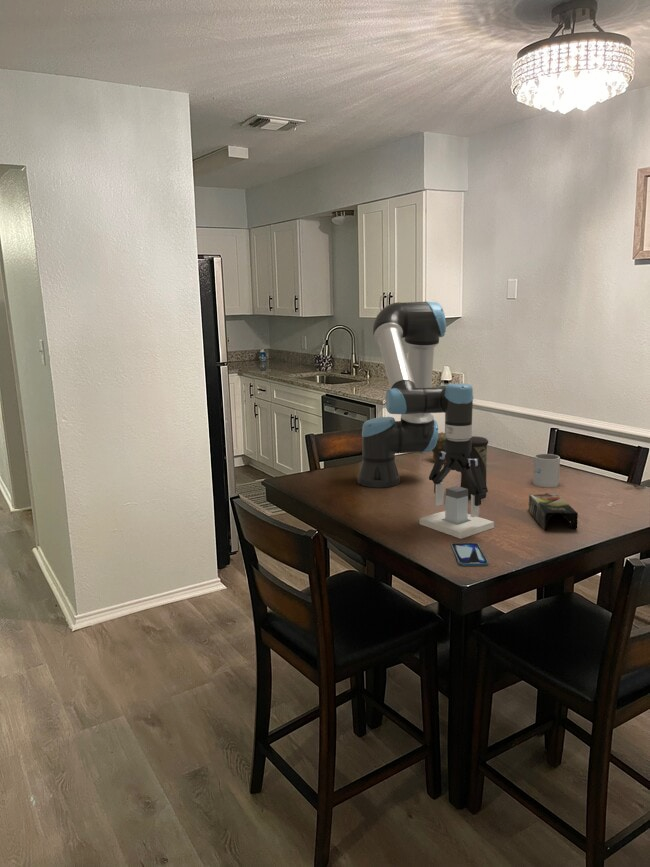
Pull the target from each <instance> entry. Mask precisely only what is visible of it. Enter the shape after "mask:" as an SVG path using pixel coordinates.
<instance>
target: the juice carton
mask: <svg viewBox="0 0 650 867" xmlns="http://www.w3.org/2000/svg"><path fill="white" fill-rule="evenodd" d="M528 512H529V513H530V515H531V516H532V517H533V518H534V519H535V521H536V522H537V523H538V524H539V526H540V527H541V528H542V530H544V531H545V532H548V531H549V530H548V529H547V527H548V523H549V519H550V518H551V517H552V516H553V515H559V514H562V515H563V516H564V517H565V518H566V521H567V520H568V521H567V522H568V523H570V525H569V529H570V530H575V531H576V530H577V529H578V517H579V514H578V512H577V511H576V510H575V509H574V508H573V507H572V506H571V505H570V504H569V503H567V501H565V500H564V498H562V497H561V495H560V494H557V493H545V492H544V493H538V494H537V493H536V494H529V495H528ZM562 515H561V516H562ZM563 516H562V517H563ZM564 517H563V518H564ZM565 518H564V519H565Z"/></svg>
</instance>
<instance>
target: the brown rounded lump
mask: <svg viewBox="0 0 650 867" xmlns="http://www.w3.org/2000/svg"><path fill="white" fill-rule="evenodd" d="M445 439H446V437H445V432H443V431H441V432H438V439H437V443H436V446H435V448H434V449H433V450H432V451H431V452H432V458H433V459H432V460H433V462H434V463H435V462H436V459H437V453H438V452H441V451H445ZM446 462H447V461H446V459H445V461H444V464H443V465H445V464H446Z"/></svg>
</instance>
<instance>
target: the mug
mask: <svg viewBox="0 0 650 867" xmlns="http://www.w3.org/2000/svg"><path fill="white" fill-rule="evenodd" d="M560 463H561V457H560V456H559V455H557V454H553V453H538V454H535V455H533V474H532V476H533V477H532V484H533V485H534V486H536V487H539V488H540V487H541V488H557V487H558V486H559V484H560V483H559V482H560V466H561V464H560Z"/></svg>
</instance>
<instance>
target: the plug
mask: <svg viewBox="0 0 650 867" xmlns="http://www.w3.org/2000/svg"><path fill="white" fill-rule="evenodd" d="M444 503H445V504H444V505H445V506H444V508H445V509H444V511H445V521H447V522H450V523H453V524H456V525H459V524H462V523H465V522H467V518H468V514H469V513H468V512H469V511H468V510H469V509H468V507H469V498H468V489H466V488H462V487H461V486H459V485H453V486H450V487H447V488H445V502H444Z"/></svg>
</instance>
